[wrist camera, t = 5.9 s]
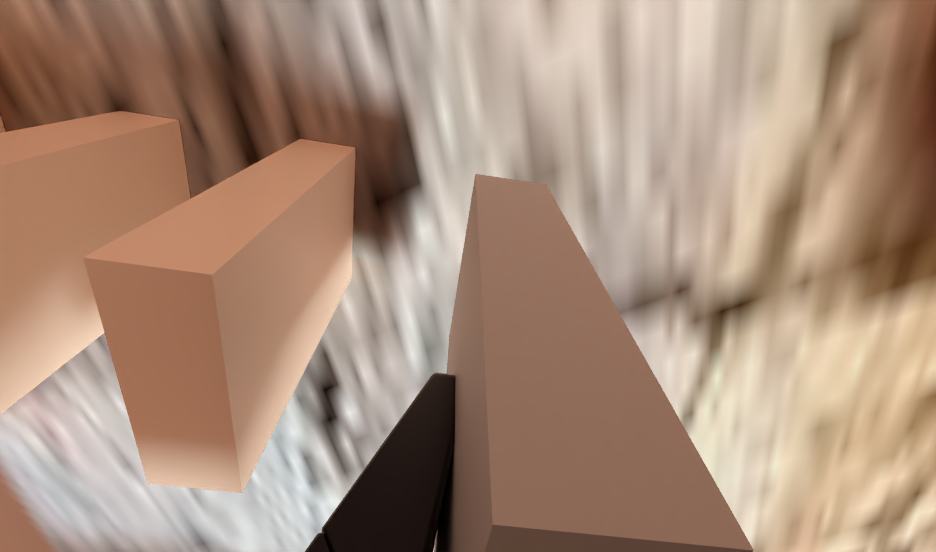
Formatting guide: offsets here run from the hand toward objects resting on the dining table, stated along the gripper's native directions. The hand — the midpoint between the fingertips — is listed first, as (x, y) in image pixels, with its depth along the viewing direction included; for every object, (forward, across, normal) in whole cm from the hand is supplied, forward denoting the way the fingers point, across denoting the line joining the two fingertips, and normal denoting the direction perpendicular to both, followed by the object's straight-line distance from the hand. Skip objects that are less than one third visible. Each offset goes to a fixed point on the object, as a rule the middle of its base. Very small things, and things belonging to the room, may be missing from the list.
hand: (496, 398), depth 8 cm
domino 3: (+4, 0, -1) cm, 4 cm away
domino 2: (+7, +5, 0) cm, 9 cm away
